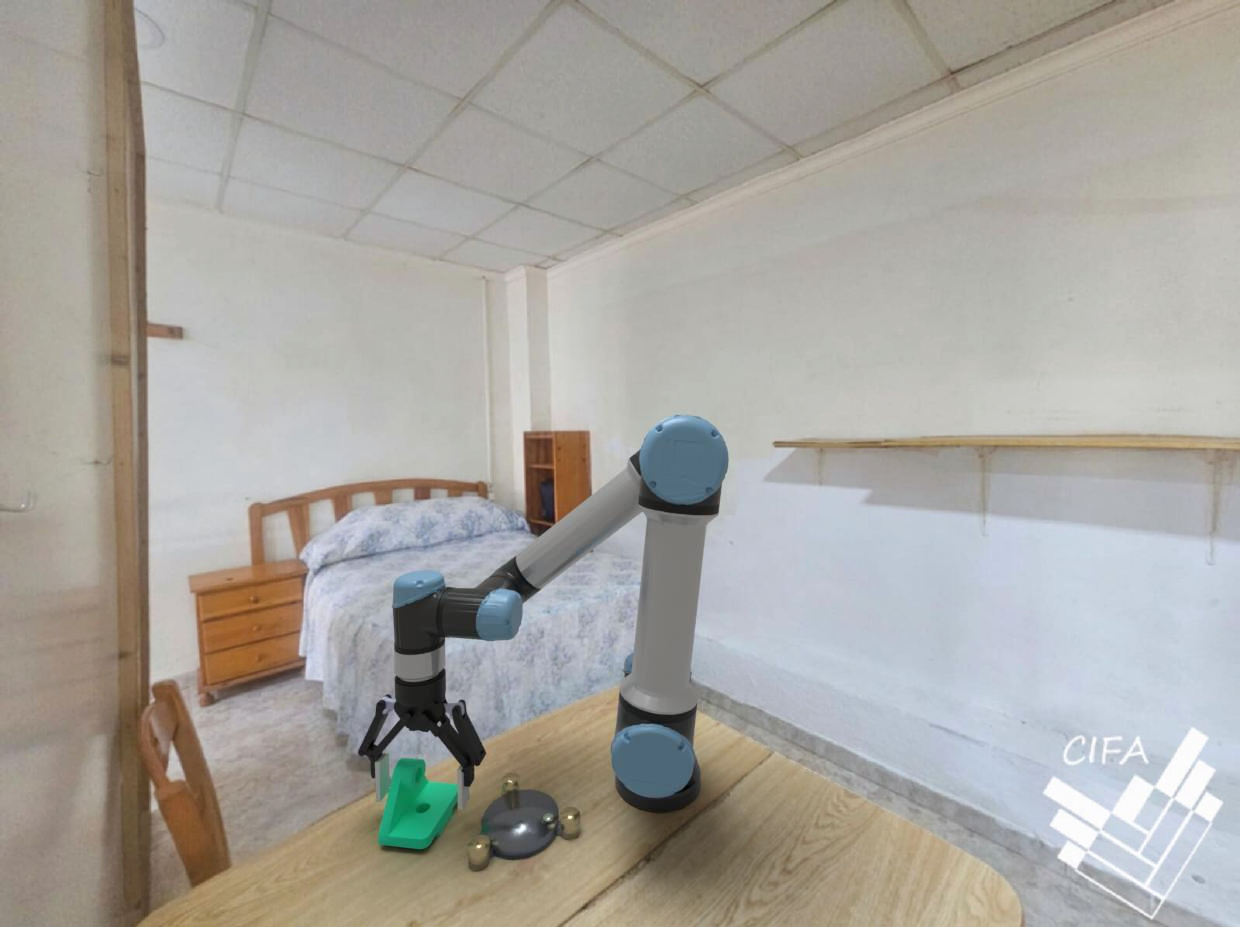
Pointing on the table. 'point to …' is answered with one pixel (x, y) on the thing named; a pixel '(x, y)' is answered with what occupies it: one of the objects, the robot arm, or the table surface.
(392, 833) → the camera mount
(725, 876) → the table surface
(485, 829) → the plate
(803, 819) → the table surface
